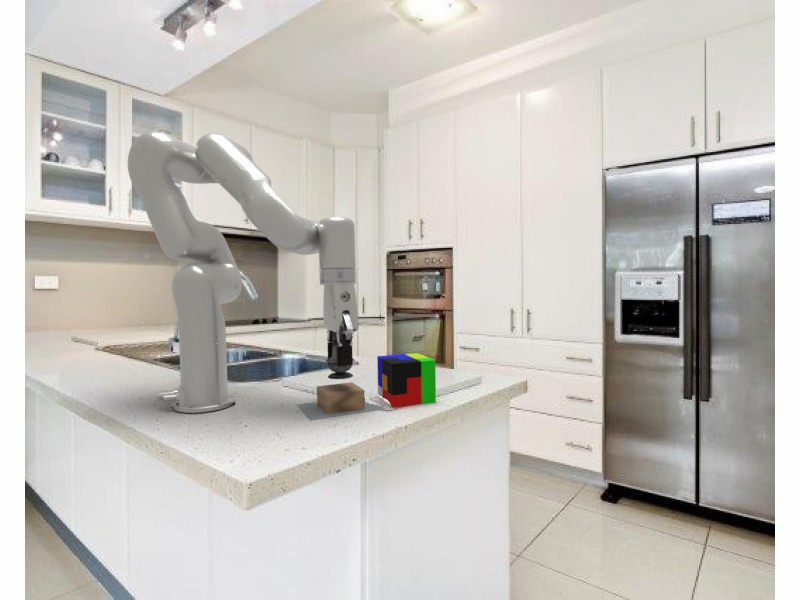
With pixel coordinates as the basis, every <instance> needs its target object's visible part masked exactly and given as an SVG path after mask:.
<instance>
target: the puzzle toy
mask: <svg viewBox="0 0 800 600" xmlns="http://www.w3.org/2000/svg"><path fill="white" fill-rule="evenodd" d="M436 374H437V373H436V359H433V358H431V357H428V356H426V355H424V354H420V353H418V352H417V353H416V352H415V353H404V354H403V353H400V354H388V355H377V395H378V394H379V395H380V396H382V397H383V398H385V399H387V400H388V401H389V402H390V404H391V406H390V408H392V409H395V408H402V407H410V406H417V405H418V406H419V405H420V406H421V405H427V404H435V403H437V402H436V399H437V398H436V397H437V394H436V390H437V389H436V386H437V385H436V383H437V382H436V377H437V376H436Z"/></svg>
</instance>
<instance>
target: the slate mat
mask: <svg viewBox="0 0 800 600" xmlns="http://www.w3.org/2000/svg"><path fill="white" fill-rule="evenodd" d="M296 406H297V407H298V408H299V409H300V411H301V412H302V413H303V414H304V415H305V416H306V418H307V419H308V420H309V421H317V420H322V419H323V420H324V419H328V418H337V417H342V416H343V417H344V416H351V415H356V414H363V413H364V414H365V413H371V412H378V411H383V410H386V408H385V407H383V405H381V406H378V405H374V404H369V403H366V402H365V409H363V410H356V411H349V412H342V413H335V414H328V415H327V414H326V413H325V412H324V411H323V410H322V409H321V408H320V407H319V406H318V405H317V401H313V402H307V403H299V404H296Z"/></svg>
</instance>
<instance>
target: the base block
mask: <svg viewBox="0 0 800 600" xmlns="http://www.w3.org/2000/svg"><path fill="white" fill-rule="evenodd" d="M364 396H365V389H363V388H362V387H360V386H359V385H357V384H355V383H354V382H353V381H352V382H342V383H335V384H334V383H333V384H326V385H317V386H316V402H317V405H318V406H319V407H320V408H321V409H322V410H323V411H324V412H325V413H326V414H327V415H328V414H335V413H342V412H349V411H356V410H363V409H365V397H364Z"/></svg>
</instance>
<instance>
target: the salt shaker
mask: <svg viewBox="0 0 800 600" xmlns="http://www.w3.org/2000/svg"><path fill="white" fill-rule="evenodd" d="M340 331H345V329H342V330H340ZM342 336H343V335H341V339H342ZM331 343H332V344H333V353H332V357H331V358H330V359H328V358H327V359H326V360H325V362H326V363H327V366H328V368H329V370H330V371H331V372H332V373H330V374H328V376H327V378H328V379H330V380H345V379H346V380H347V379H352V378H353V377H354V374H352V373H351V372H348V371H350V370H351V369H352V366H353V364H352V365H348V366H337V350H336V347H338V341H337V333H336V332H333V341H332V342H331ZM352 359H353V362H354V360H355V359H354V358H353V357H352Z"/></svg>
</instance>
